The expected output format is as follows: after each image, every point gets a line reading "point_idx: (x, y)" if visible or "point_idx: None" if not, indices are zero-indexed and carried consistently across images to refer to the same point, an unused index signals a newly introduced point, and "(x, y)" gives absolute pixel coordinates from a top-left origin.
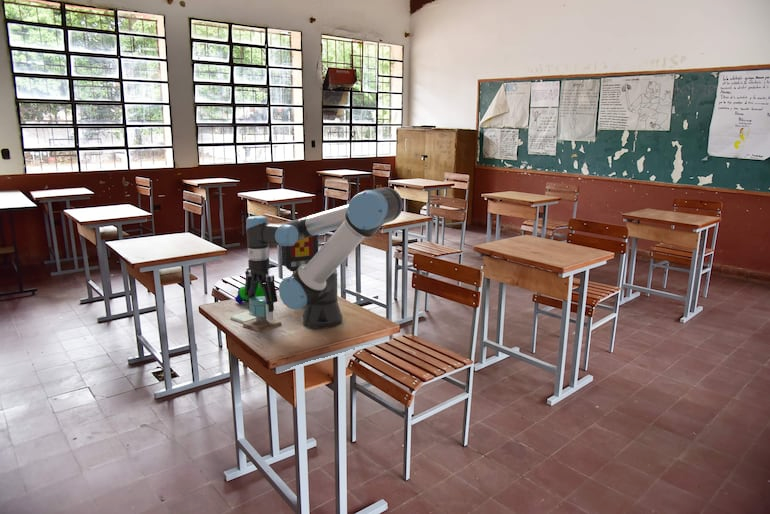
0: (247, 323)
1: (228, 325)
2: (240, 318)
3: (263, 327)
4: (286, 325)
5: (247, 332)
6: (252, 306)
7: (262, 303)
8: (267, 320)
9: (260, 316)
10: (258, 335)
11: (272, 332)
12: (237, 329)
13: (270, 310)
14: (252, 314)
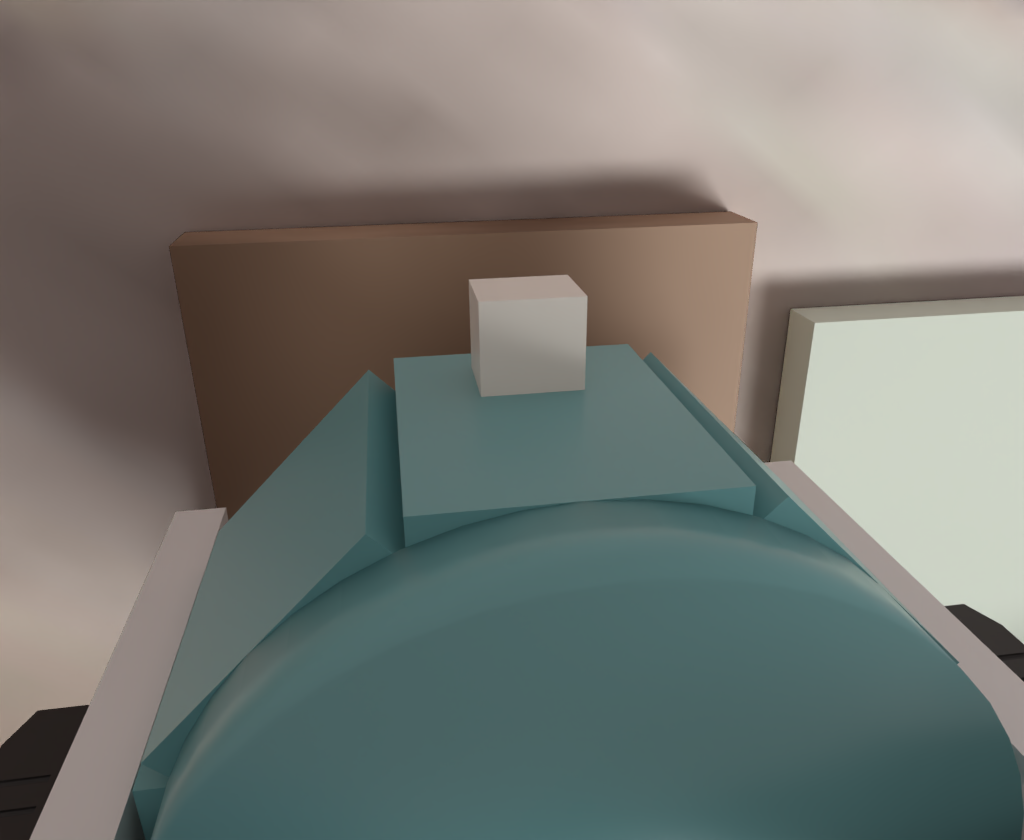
0: (670, 277)
1: (1003, 45)
2: (990, 360)
3: (215, 358)
4: None
5: (380, 47)
6: (542, 485)
7: (167, 826)
8: (185, 515)
9: (290, 458)
10: (38, 92)
11: (12, 392)
12: (690, 18)
13: (9, 756)
14: (474, 341)
